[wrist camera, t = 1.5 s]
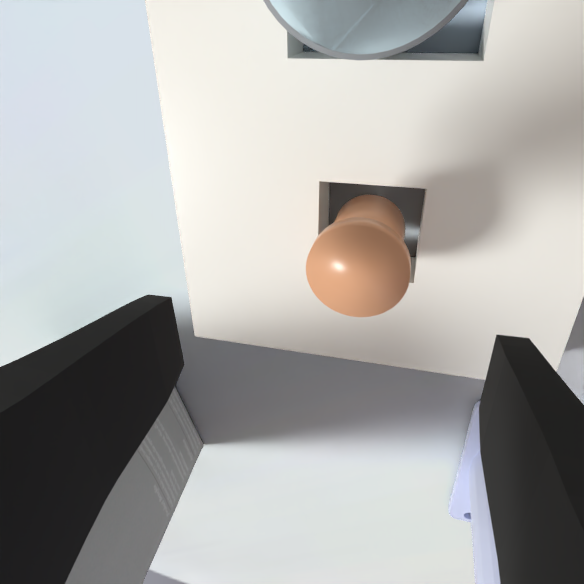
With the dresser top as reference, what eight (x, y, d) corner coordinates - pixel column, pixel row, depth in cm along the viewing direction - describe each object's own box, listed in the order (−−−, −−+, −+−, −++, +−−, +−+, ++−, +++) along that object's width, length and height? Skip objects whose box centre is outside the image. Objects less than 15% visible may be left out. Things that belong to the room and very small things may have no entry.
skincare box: (55, 337, 26) (-329, 684, 13) (169, 330, 24) (-161, 747, 11) (117, 448, 30) (-130, 799, 17) (220, 452, 28) (26, 865, 14)
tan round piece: (419, 189, 15) (416, 230, 13) (408, 270, 17) (403, 323, 14) (327, 182, 16) (305, 220, 13) (325, 261, 18) (305, 310, 15)
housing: (826, -511, 9) (916, -628, 7) (540, 355, 19) (549, 389, 18) (131, -371, 12) (81, -431, 10) (212, 311, 22) (194, 336, 21)
